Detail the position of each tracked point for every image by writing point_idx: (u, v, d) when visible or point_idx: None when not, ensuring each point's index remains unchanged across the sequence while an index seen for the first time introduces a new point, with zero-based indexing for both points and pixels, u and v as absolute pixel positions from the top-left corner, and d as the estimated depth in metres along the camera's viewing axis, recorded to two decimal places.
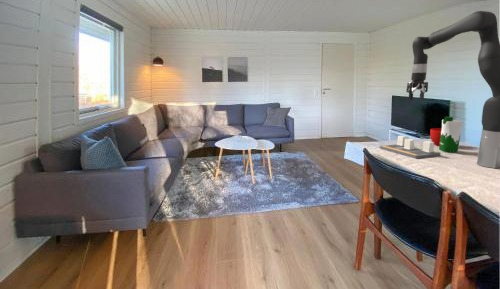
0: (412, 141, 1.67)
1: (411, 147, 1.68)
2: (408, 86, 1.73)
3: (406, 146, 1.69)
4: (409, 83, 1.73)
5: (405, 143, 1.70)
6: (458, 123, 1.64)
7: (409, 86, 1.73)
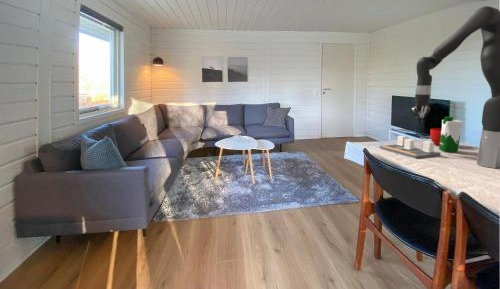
0: (412, 141, 1.67)
1: (411, 147, 1.68)
2: (414, 112, 1.66)
3: (406, 146, 1.69)
4: (413, 110, 1.65)
5: (405, 143, 1.70)
6: (458, 123, 1.64)
7: (415, 112, 1.65)
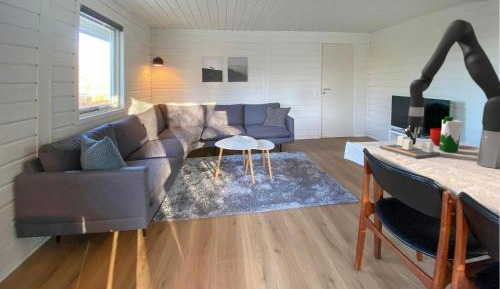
0: (410, 141, 1.67)
1: (409, 147, 1.67)
2: (407, 133, 1.67)
3: (404, 146, 1.69)
4: (406, 131, 1.67)
5: (403, 143, 1.69)
6: (458, 123, 1.64)
7: (408, 133, 1.67)
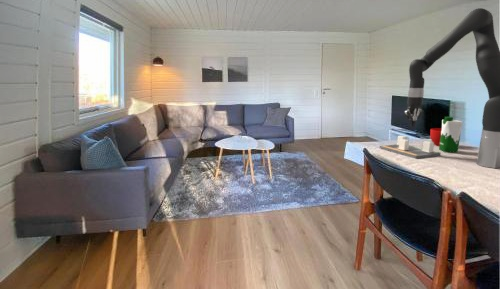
0: (407, 142, 1.66)
1: (406, 148, 1.66)
2: (406, 115, 1.64)
3: (401, 147, 1.68)
4: (406, 112, 1.63)
5: (400, 144, 1.68)
6: (458, 123, 1.64)
7: (407, 115, 1.64)
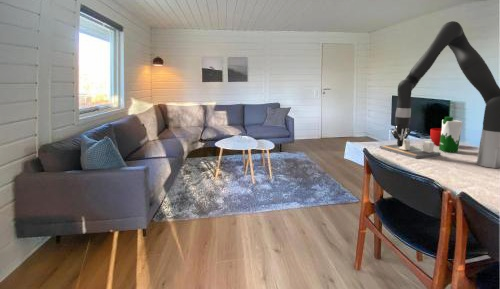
0: (408, 141, 1.66)
1: (407, 147, 1.67)
2: (394, 134, 1.64)
3: (402, 146, 1.68)
4: (393, 132, 1.63)
5: None
6: (458, 123, 1.64)
7: (395, 135, 1.63)
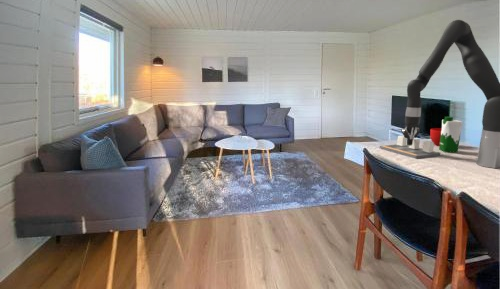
0: (417, 140, 1.68)
1: (416, 146, 1.69)
2: (404, 134, 1.66)
3: (411, 145, 1.71)
4: (403, 131, 1.65)
5: None
6: (458, 123, 1.64)
7: (405, 134, 1.66)
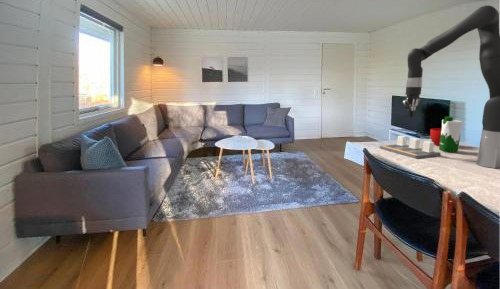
0: (417, 140, 1.68)
1: (416, 146, 1.69)
2: (405, 105, 1.63)
3: (411, 145, 1.71)
4: (404, 102, 1.62)
5: (410, 142, 1.71)
6: (458, 123, 1.64)
7: (406, 105, 1.62)
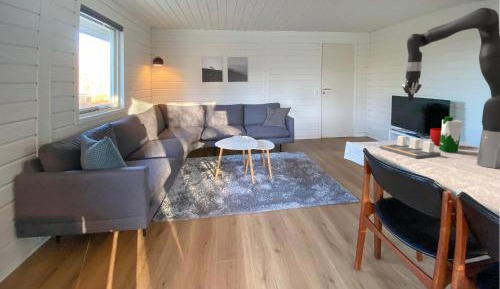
0: (417, 140, 1.68)
1: (416, 146, 1.69)
2: (404, 89, 1.69)
3: (411, 145, 1.71)
4: (404, 86, 1.68)
5: (410, 142, 1.71)
6: (458, 123, 1.64)
7: (405, 88, 1.69)
